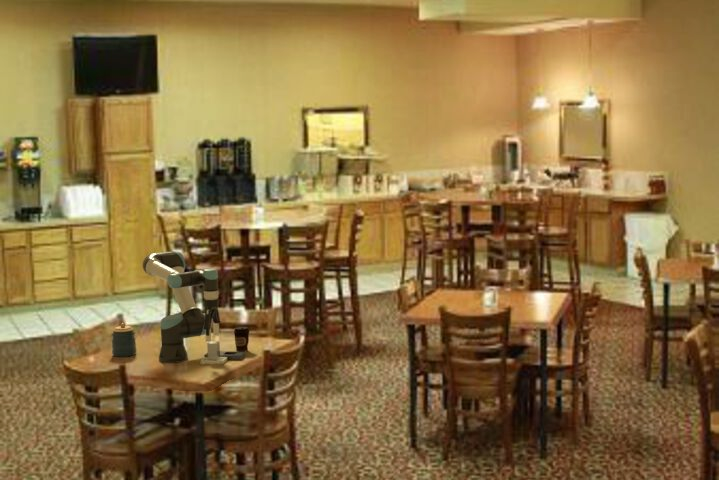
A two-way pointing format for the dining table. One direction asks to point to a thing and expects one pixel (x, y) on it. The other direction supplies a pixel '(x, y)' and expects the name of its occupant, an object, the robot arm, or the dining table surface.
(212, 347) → the nut block
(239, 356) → the grey flat slab
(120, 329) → the canister
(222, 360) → the parts tray
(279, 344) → the dining table surface
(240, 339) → the coffee cup
